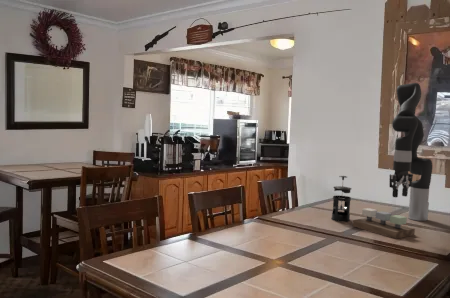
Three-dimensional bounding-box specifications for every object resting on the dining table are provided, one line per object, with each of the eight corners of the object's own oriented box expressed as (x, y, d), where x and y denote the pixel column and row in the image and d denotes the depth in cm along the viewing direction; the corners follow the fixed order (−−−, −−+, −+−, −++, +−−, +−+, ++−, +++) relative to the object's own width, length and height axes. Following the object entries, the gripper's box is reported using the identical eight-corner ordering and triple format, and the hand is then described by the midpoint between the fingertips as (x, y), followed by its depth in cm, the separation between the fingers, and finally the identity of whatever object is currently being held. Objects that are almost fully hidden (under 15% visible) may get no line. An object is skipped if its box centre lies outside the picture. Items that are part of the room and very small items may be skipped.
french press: (342, 223, 212) (345, 177, 210) (326, 219, 219) (329, 175, 217) (355, 220, 220) (357, 176, 218) (339, 216, 227) (342, 174, 225)
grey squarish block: (381, 222, 203) (382, 211, 203) (390, 225, 199) (391, 213, 199) (375, 223, 201) (375, 212, 200) (384, 226, 197) (384, 214, 196)
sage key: (396, 226, 197) (397, 214, 196) (405, 229, 193) (406, 217, 192) (389, 228, 194) (390, 215, 194) (399, 230, 190) (399, 218, 189)
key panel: (371, 223, 214) (371, 217, 214) (414, 235, 194) (414, 228, 194) (352, 225, 207) (353, 219, 206) (395, 238, 186) (395, 232, 186)
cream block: (368, 219, 210) (369, 208, 210) (376, 221, 206) (377, 210, 206) (361, 220, 208) (362, 208, 207) (369, 222, 203) (370, 210, 203)
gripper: (404, 159, 198) (402, 194, 199) (385, 159, 191) (382, 196, 192) (419, 161, 192) (416, 197, 193) (399, 161, 184) (397, 199, 185)
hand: (399, 196), depth 192 cm, fingers open, 6 cm apart
